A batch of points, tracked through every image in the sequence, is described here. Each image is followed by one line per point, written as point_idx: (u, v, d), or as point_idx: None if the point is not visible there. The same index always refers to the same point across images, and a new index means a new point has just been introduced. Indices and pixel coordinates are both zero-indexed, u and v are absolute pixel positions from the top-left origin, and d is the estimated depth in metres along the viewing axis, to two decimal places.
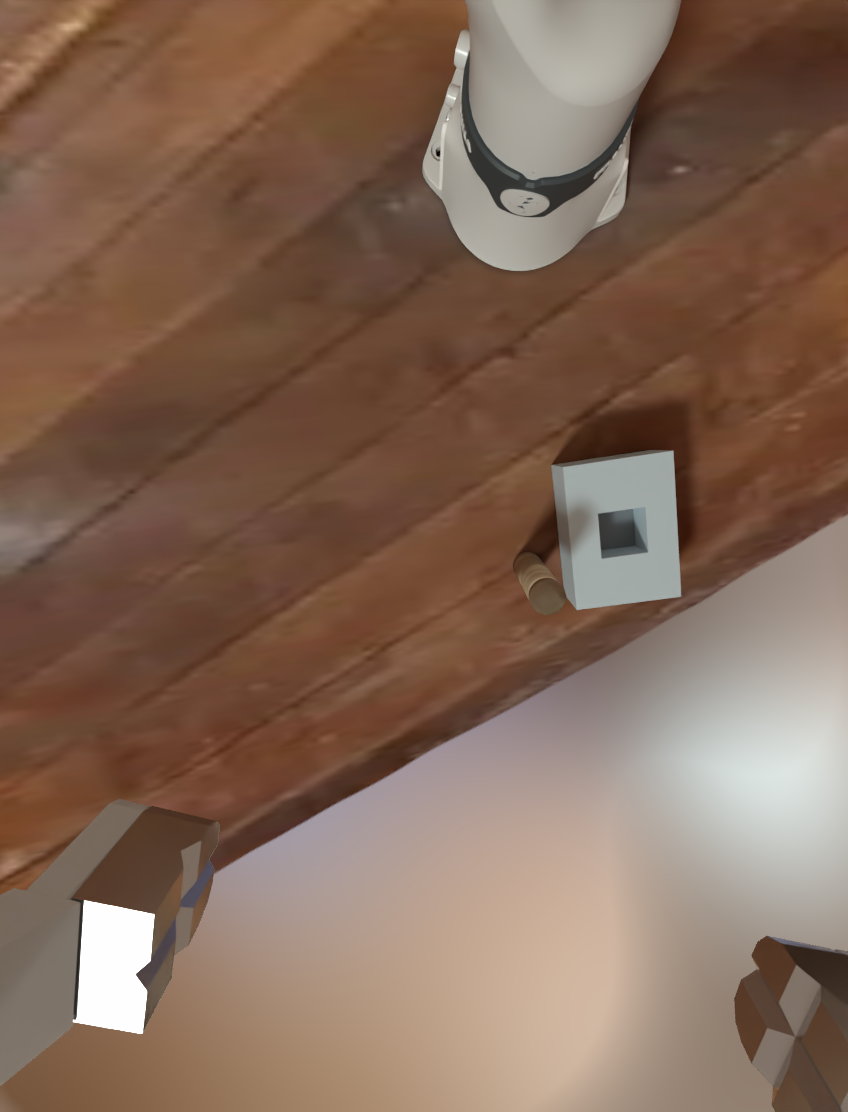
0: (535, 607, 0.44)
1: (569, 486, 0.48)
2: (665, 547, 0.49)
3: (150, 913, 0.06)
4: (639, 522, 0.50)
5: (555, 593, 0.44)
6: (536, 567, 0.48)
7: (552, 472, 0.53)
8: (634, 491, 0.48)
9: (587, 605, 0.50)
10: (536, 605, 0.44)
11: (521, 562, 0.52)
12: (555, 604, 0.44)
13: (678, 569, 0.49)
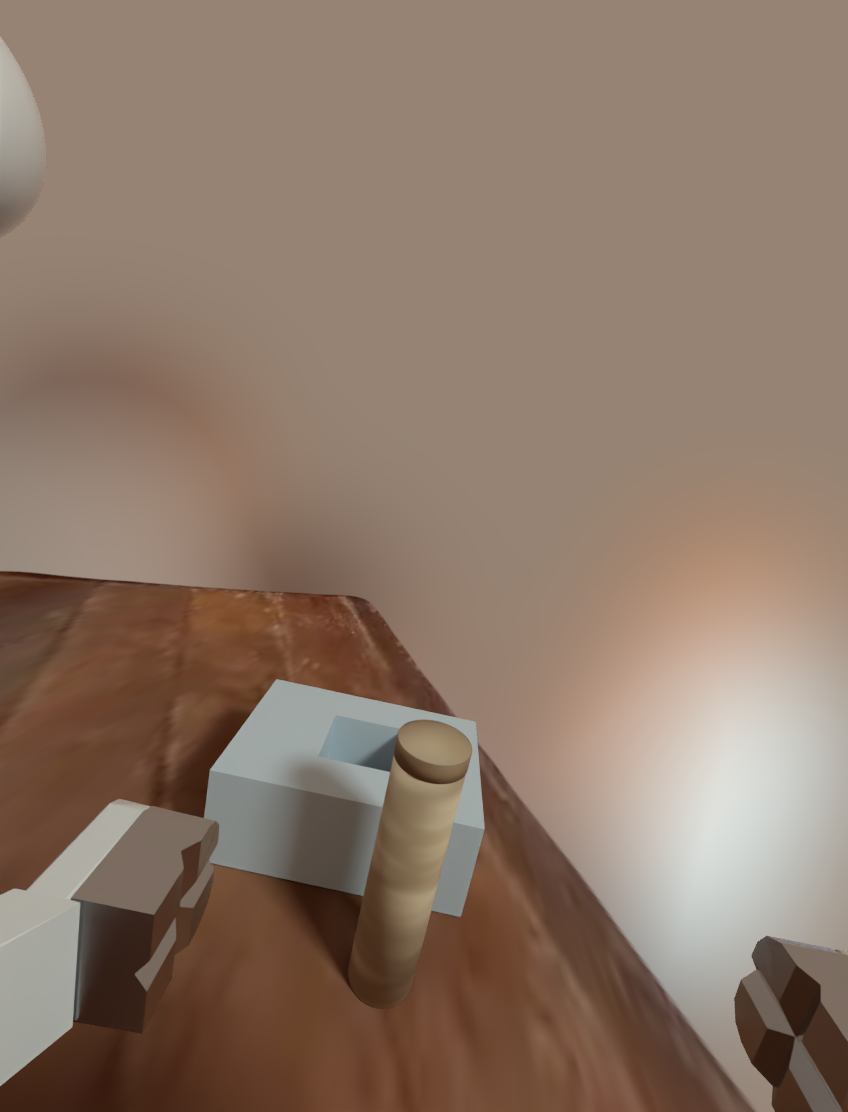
0: (452, 762, 0.19)
1: (248, 772, 0.26)
2: (401, 715, 0.34)
3: (150, 913, 0.06)
4: (358, 746, 0.33)
5: (428, 730, 0.21)
6: None
7: (213, 861, 0.27)
8: (307, 717, 0.32)
9: (477, 812, 0.27)
10: (448, 759, 0.20)
11: (364, 930, 0.22)
12: (452, 736, 0.21)
13: (436, 713, 0.35)
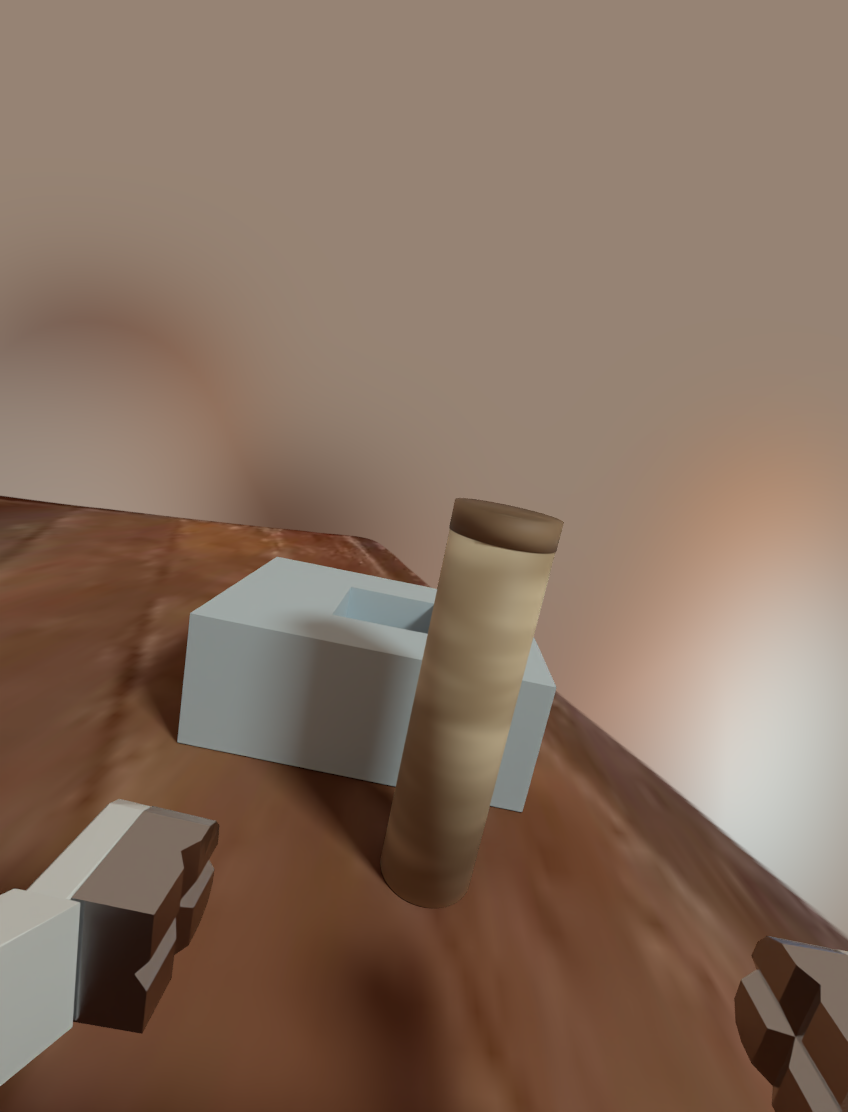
0: (541, 521, 0.13)
1: (242, 619, 0.20)
2: (431, 594, 0.28)
3: (150, 913, 0.06)
4: None
5: (496, 505, 0.15)
6: None
7: (196, 743, 0.20)
8: (316, 585, 0.25)
9: (543, 672, 0.20)
10: (534, 519, 0.13)
11: (405, 795, 0.15)
12: (530, 512, 0.15)
13: None
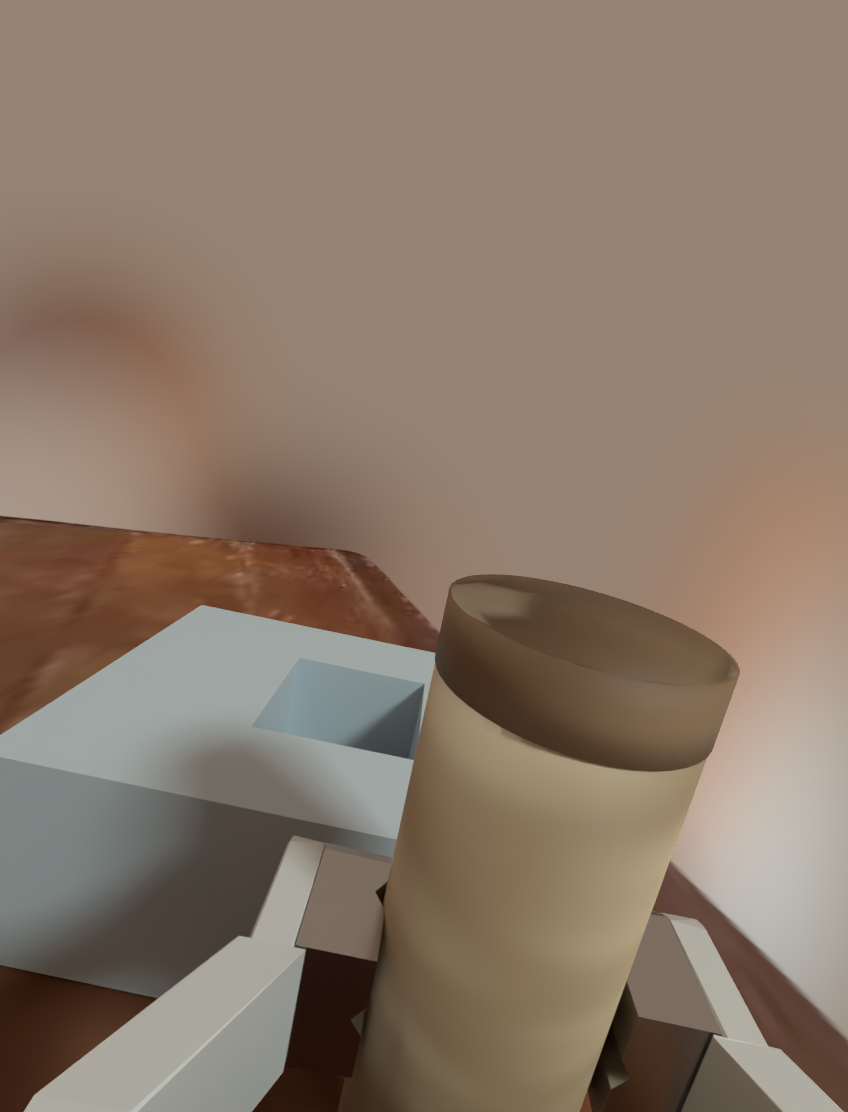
0: (698, 678, 0.05)
1: (73, 757, 0.11)
2: (419, 662, 0.19)
3: (371, 959, 0.06)
4: (341, 716, 0.18)
5: (548, 596, 0.06)
6: None
7: (6, 962, 0.12)
8: (244, 659, 0.17)
9: None
10: (674, 669, 0.05)
11: None
12: (627, 612, 0.06)
13: None
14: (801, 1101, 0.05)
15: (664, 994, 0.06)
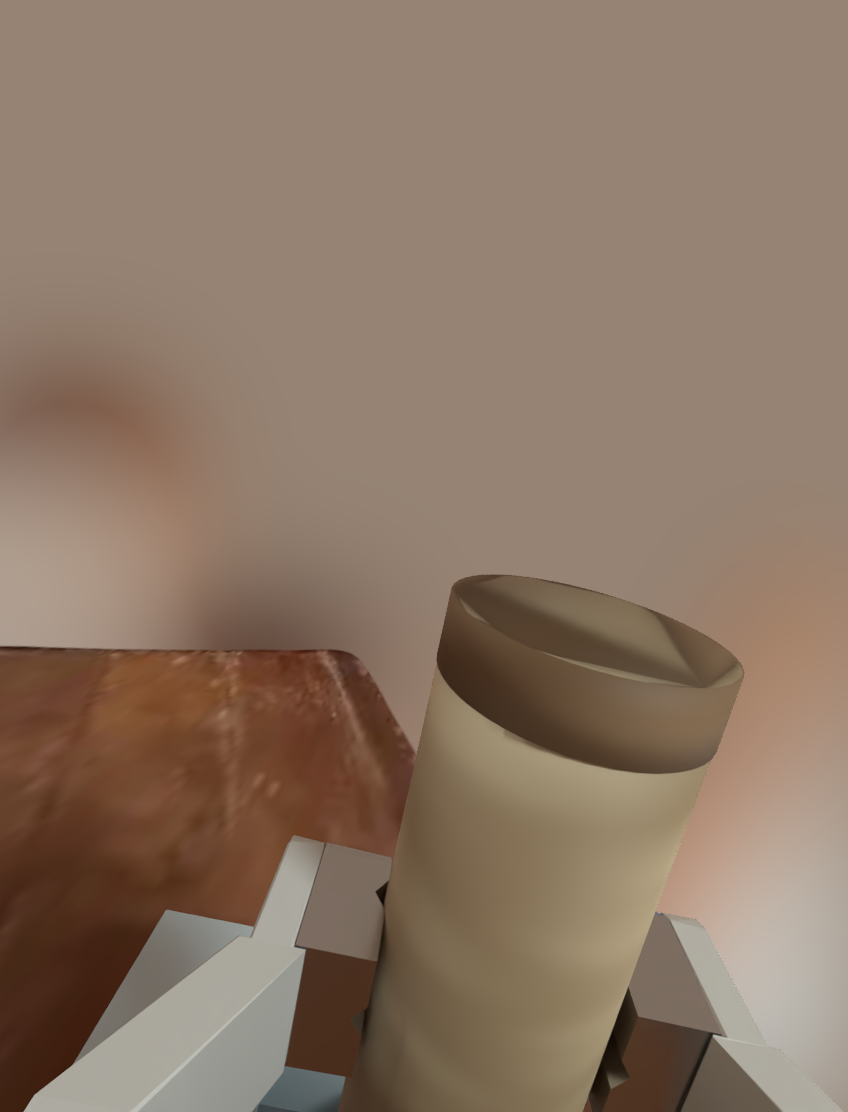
0: (702, 679, 0.04)
1: None
2: None
3: (371, 960, 0.06)
4: (321, 1078, 0.16)
5: (550, 596, 0.06)
6: None
7: None
8: None
9: None
10: (678, 670, 0.05)
11: None
12: (631, 614, 0.06)
13: None
14: (802, 1101, 0.05)
15: (664, 994, 0.06)
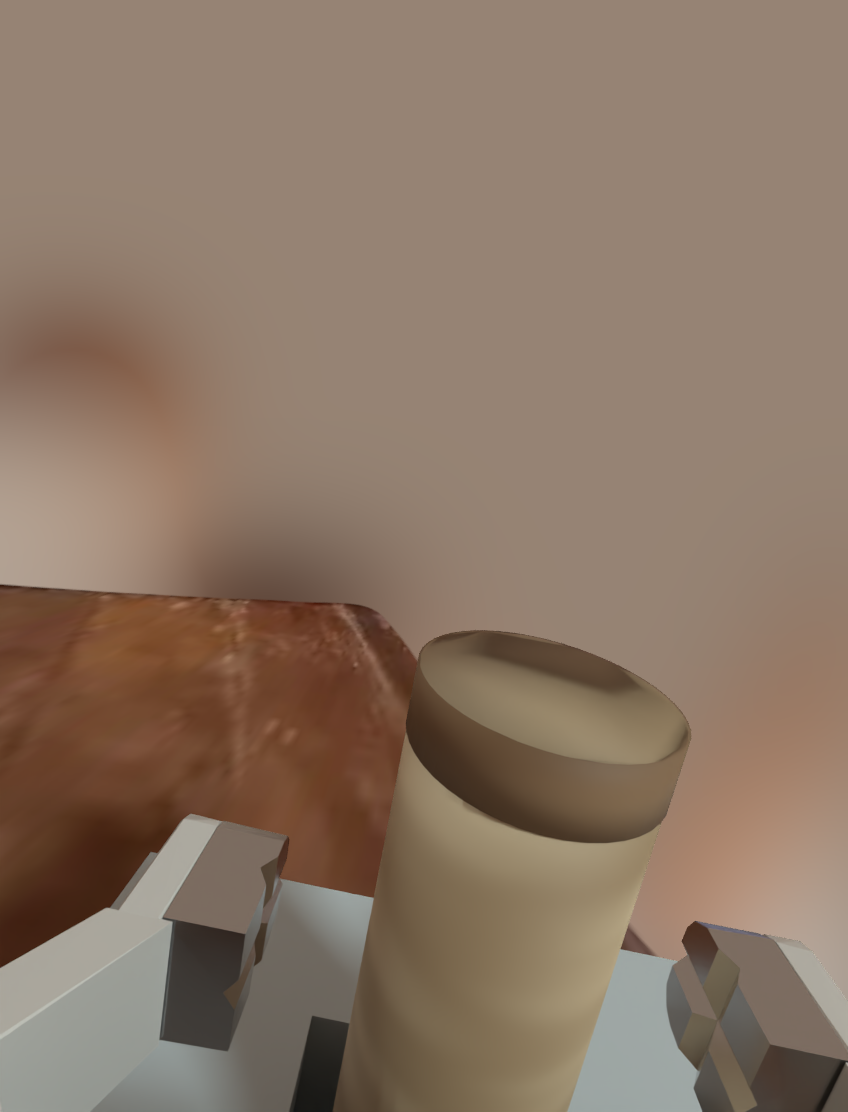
0: (647, 752, 0.05)
1: None
2: None
3: (240, 933, 0.06)
4: None
5: (516, 655, 0.07)
6: (356, 987, 0.07)
7: None
8: (210, 1052, 0.09)
9: None
10: (626, 742, 0.05)
11: None
12: (593, 671, 0.06)
13: None
14: None
15: (789, 1020, 0.06)
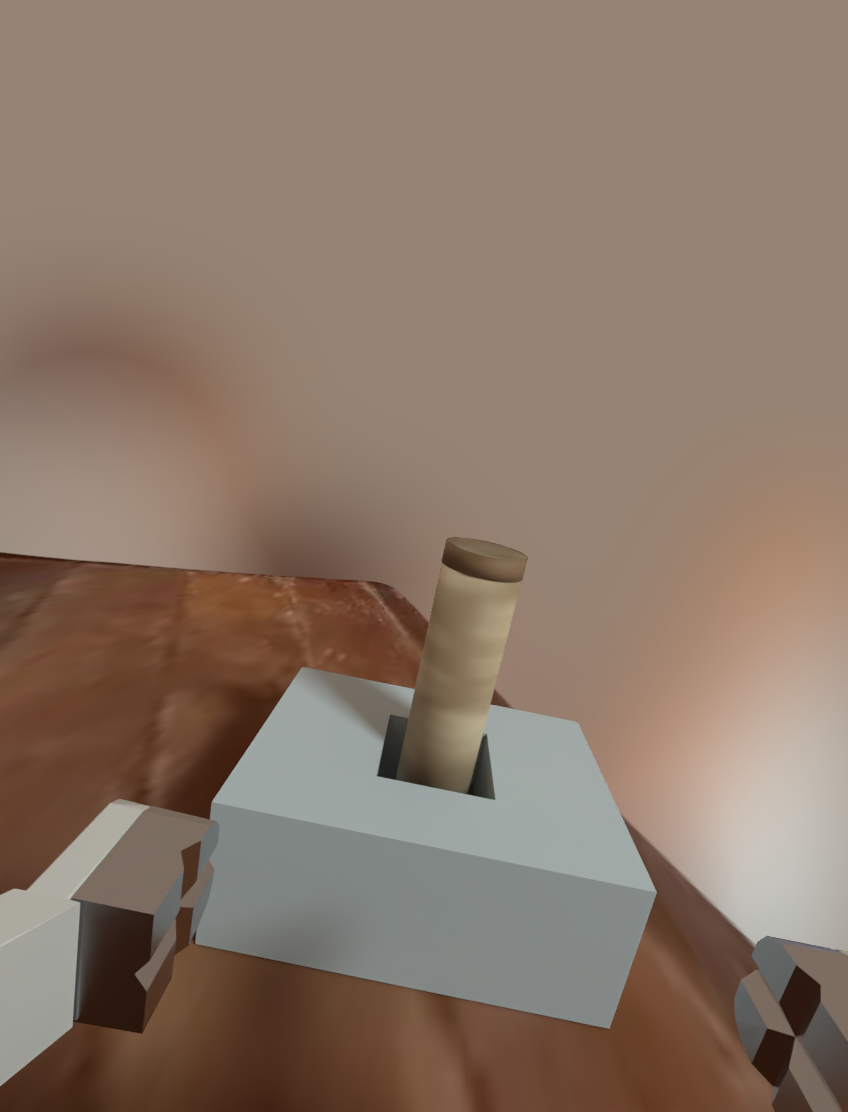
0: (509, 559, 0.18)
1: (273, 804, 0.16)
2: None
3: (150, 913, 0.06)
4: None
5: (478, 543, 0.20)
6: (421, 660, 0.20)
7: (218, 945, 0.17)
8: (351, 717, 0.22)
9: (634, 862, 0.17)
10: (504, 557, 0.18)
11: (407, 765, 0.20)
12: (503, 549, 0.19)
13: (523, 712, 0.26)
14: None
15: None
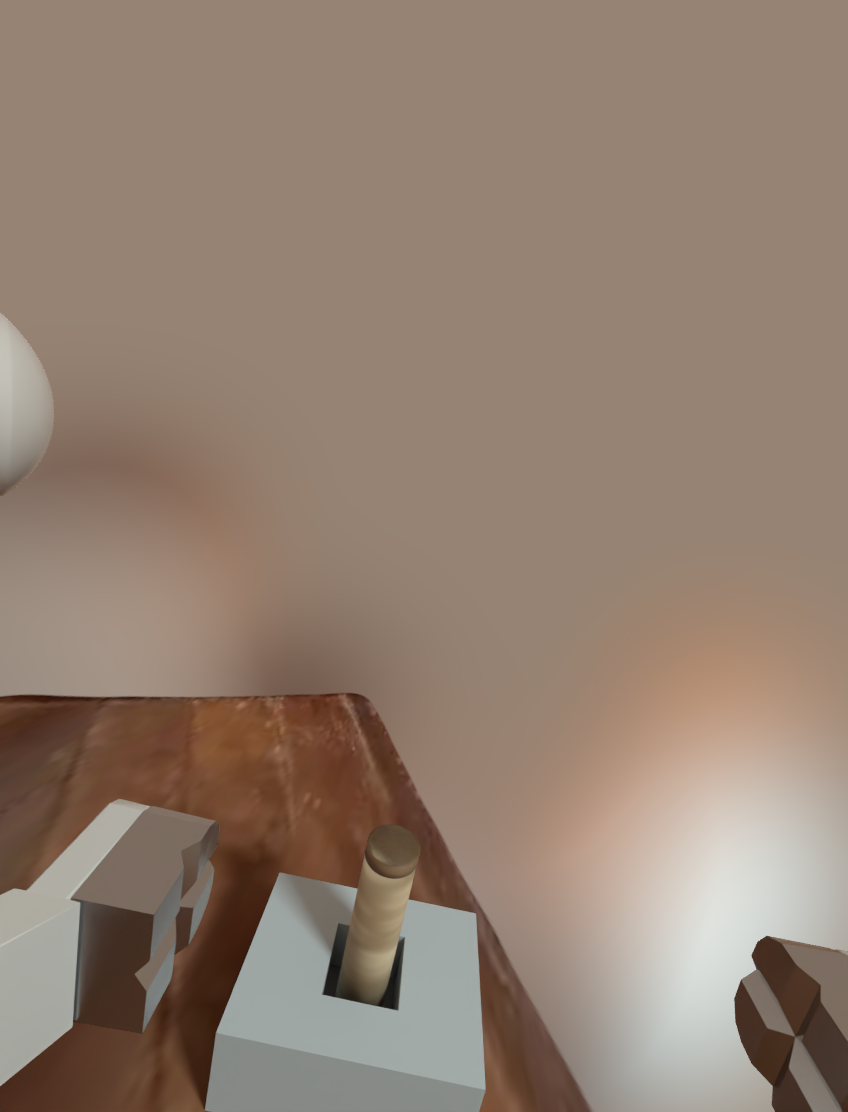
0: (404, 863, 0.28)
1: (253, 1031, 0.26)
2: None
3: (150, 913, 0.06)
4: None
5: (390, 834, 0.30)
6: (353, 908, 0.30)
7: (219, 1111, 0.27)
8: (310, 931, 0.32)
9: (478, 1063, 0.27)
10: (401, 861, 0.28)
11: (344, 977, 0.30)
12: (406, 839, 0.30)
13: (437, 906, 0.36)
14: None
15: None
